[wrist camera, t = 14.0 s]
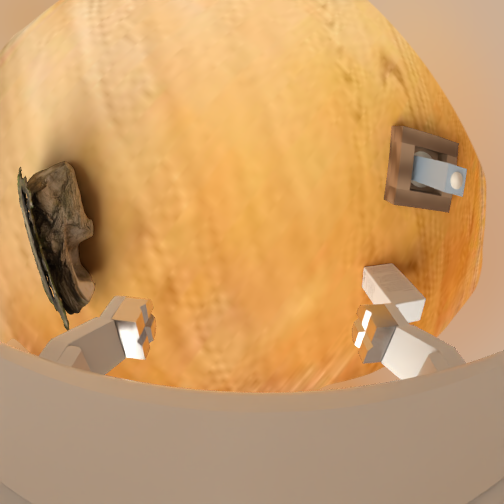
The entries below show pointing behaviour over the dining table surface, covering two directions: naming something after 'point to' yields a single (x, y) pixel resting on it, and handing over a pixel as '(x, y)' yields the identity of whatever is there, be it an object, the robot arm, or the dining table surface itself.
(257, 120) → the dining table surface
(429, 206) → the socket block
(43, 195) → the hollow geode rock
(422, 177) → the post
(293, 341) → the dining table surface
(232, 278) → the dining table surface
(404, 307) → the skincare box
